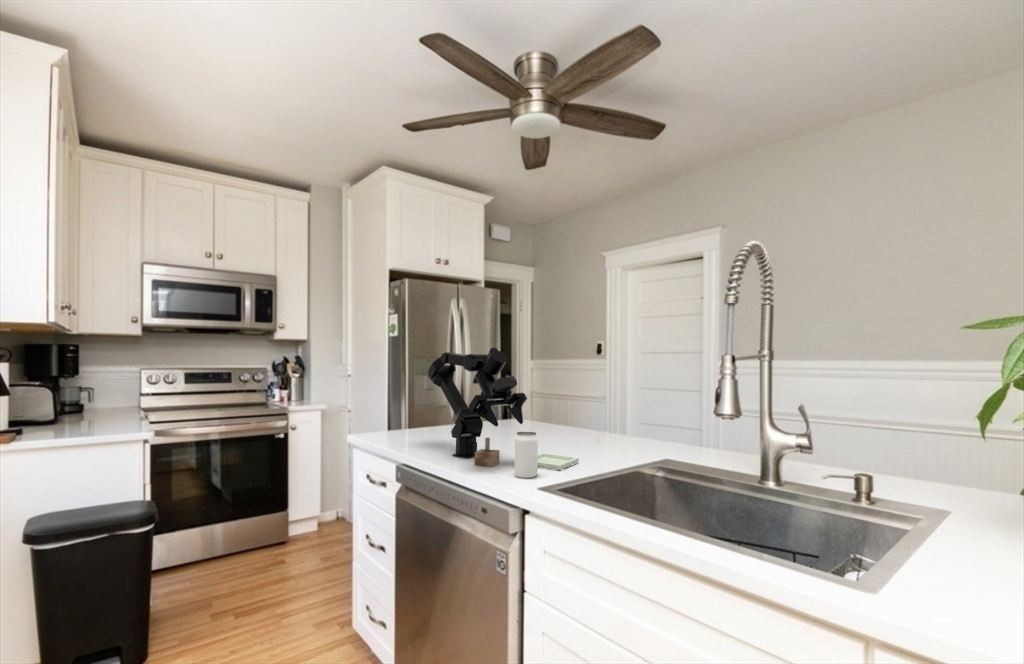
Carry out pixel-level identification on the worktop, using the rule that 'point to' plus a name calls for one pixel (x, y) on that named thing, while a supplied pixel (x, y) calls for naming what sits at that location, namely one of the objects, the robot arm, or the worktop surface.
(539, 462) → the tray
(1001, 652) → the worktop surface
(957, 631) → the worktop surface
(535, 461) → the can
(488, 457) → the wooden peg block
